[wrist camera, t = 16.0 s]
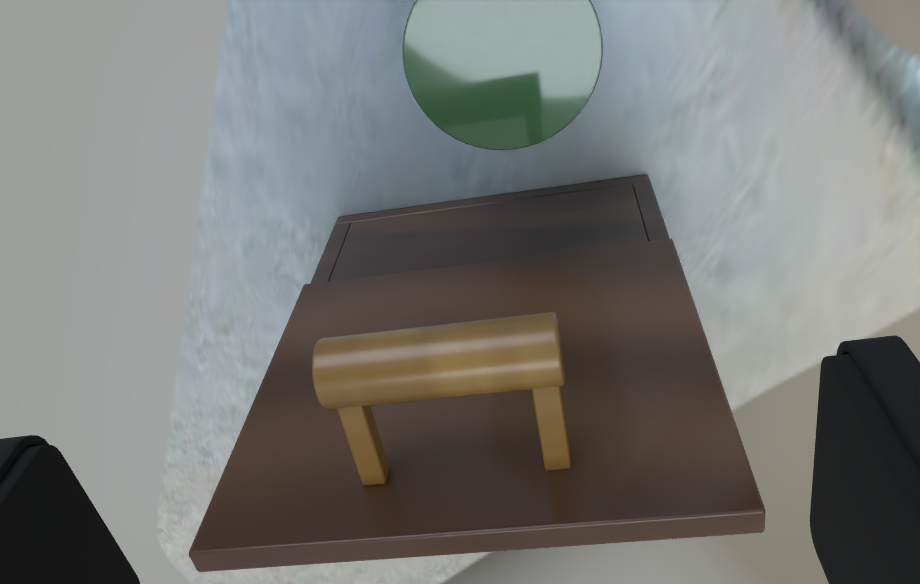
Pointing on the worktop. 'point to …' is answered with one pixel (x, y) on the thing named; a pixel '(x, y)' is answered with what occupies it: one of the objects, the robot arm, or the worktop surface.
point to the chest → (493, 229)
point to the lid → (485, 417)
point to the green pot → (502, 67)
